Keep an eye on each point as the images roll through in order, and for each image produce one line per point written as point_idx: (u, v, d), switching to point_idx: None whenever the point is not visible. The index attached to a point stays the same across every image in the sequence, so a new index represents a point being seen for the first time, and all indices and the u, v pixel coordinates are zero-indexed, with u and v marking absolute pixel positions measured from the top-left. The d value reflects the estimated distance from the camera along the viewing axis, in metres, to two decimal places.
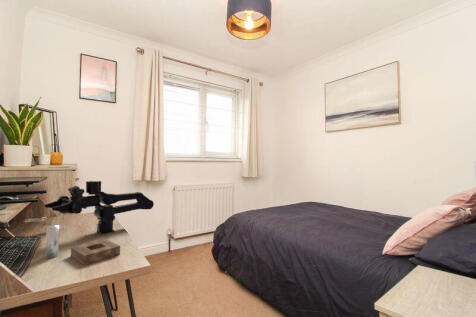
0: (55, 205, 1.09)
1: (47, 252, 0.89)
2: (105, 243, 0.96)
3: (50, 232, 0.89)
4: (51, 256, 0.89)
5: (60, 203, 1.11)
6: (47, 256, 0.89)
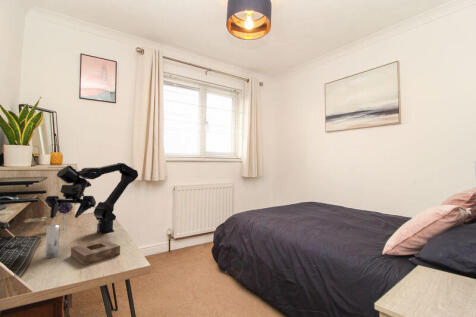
0: (55, 210, 1.01)
1: (47, 252, 0.89)
2: (105, 243, 0.96)
3: (50, 232, 0.89)
4: (51, 256, 0.89)
5: (56, 205, 1.02)
6: (47, 256, 0.89)
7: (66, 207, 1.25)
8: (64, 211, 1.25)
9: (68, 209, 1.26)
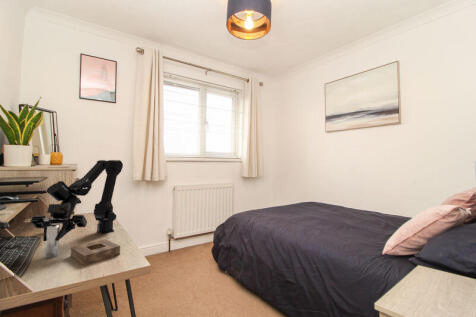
0: None
1: (47, 252, 0.89)
2: (105, 243, 0.96)
3: (50, 232, 0.89)
4: (51, 256, 0.89)
5: None
6: (47, 256, 0.89)
7: None
8: None
9: None
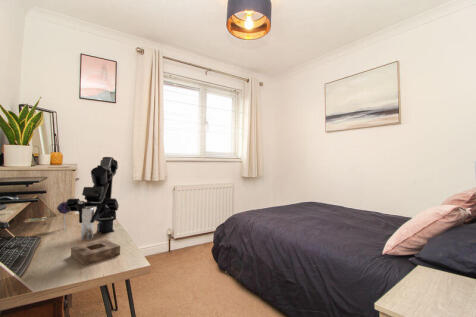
0: None
1: (83, 234, 0.90)
2: (105, 243, 0.96)
3: (85, 214, 0.90)
4: (86, 238, 0.90)
5: None
6: (83, 237, 0.90)
7: (66, 207, 1.25)
8: (64, 211, 1.25)
9: (68, 209, 1.26)
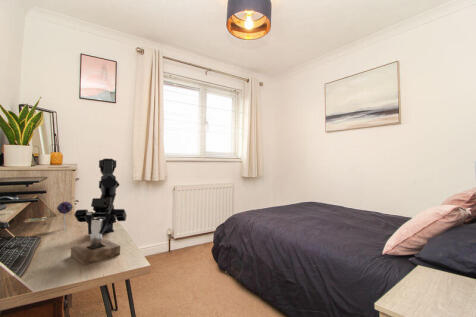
0: None
1: (92, 245, 0.91)
2: (105, 243, 0.96)
3: (94, 226, 0.91)
4: None
5: None
6: (92, 249, 0.91)
7: (66, 207, 1.25)
8: (64, 211, 1.25)
9: (68, 209, 1.26)
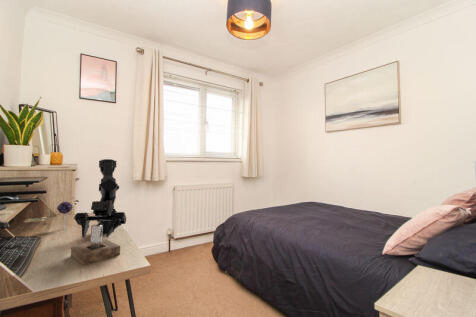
0: (86, 228, 0.94)
1: None
2: (105, 243, 0.96)
3: (94, 232, 0.91)
4: None
5: (87, 223, 0.95)
6: None
7: (66, 207, 1.25)
8: (64, 211, 1.25)
9: (68, 209, 1.26)
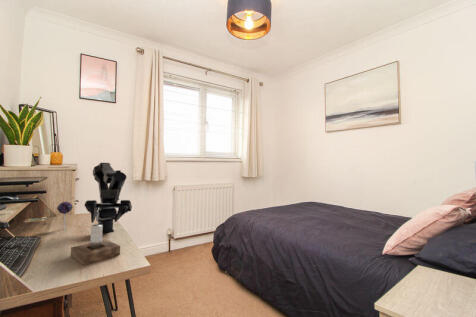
0: (95, 214, 1.02)
1: None
2: (105, 243, 0.96)
3: (94, 232, 0.91)
4: None
5: (95, 210, 1.03)
6: None
7: (66, 207, 1.25)
8: (64, 211, 1.25)
9: (68, 209, 1.26)
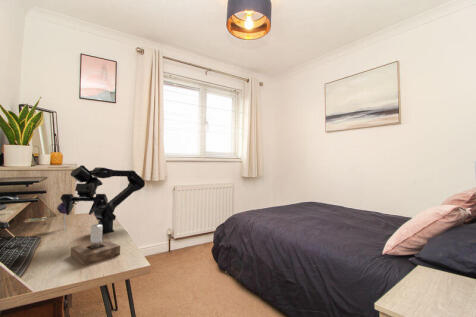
0: (70, 207, 1.06)
1: None
2: (105, 243, 0.96)
3: (94, 232, 0.91)
4: None
5: (71, 203, 1.07)
6: None
7: None
8: (64, 211, 1.25)
9: None
